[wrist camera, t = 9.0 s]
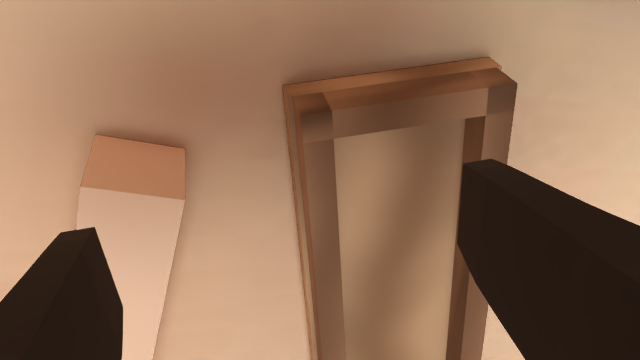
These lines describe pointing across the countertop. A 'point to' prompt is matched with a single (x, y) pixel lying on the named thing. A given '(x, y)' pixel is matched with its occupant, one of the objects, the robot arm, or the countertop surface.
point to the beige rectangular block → (135, 227)
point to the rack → (392, 206)
